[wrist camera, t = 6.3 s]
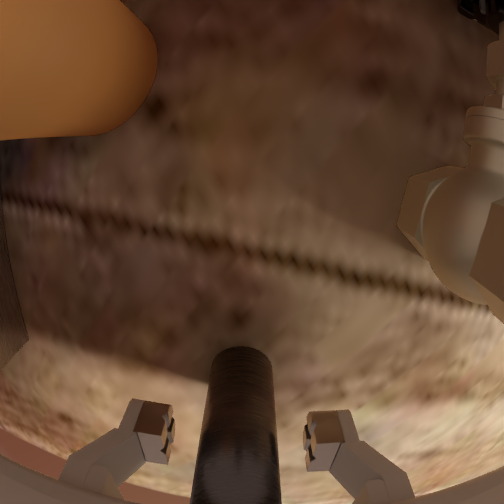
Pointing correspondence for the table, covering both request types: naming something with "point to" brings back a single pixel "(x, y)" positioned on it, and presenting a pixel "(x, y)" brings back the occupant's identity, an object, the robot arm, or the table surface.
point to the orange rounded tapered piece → (71, 67)
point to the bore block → (8, 305)
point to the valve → (467, 191)
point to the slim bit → (238, 433)
